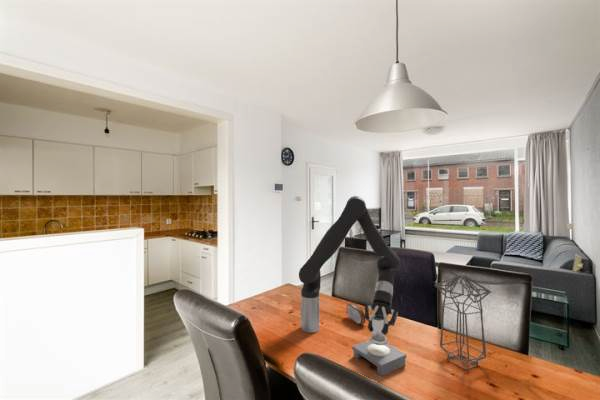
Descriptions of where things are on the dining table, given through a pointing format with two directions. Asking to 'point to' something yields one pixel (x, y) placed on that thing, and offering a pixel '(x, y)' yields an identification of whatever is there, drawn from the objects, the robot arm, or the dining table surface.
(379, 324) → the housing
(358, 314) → the tin
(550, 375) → the dining table surface
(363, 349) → the stand
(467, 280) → the geometric lantern
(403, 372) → the dining table surface
